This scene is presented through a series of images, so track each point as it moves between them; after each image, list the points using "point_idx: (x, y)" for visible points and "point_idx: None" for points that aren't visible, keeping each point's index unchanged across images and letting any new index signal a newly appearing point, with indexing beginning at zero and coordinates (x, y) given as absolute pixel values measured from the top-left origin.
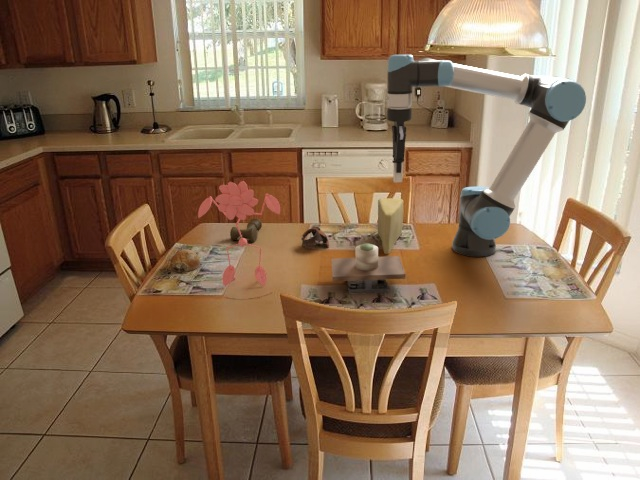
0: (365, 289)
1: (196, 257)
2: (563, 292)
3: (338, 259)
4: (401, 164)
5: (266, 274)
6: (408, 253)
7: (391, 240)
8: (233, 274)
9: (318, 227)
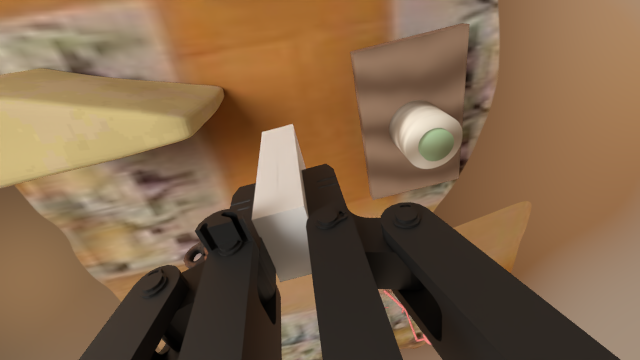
0: None
1: None
2: None
3: (376, 187)
4: (306, 202)
5: None
6: (193, 31)
7: (184, 90)
8: None
9: (189, 264)
